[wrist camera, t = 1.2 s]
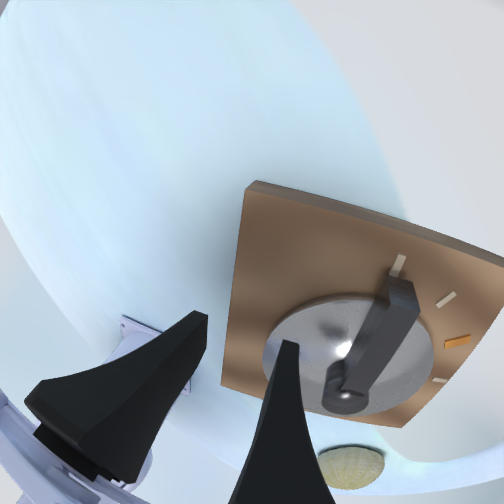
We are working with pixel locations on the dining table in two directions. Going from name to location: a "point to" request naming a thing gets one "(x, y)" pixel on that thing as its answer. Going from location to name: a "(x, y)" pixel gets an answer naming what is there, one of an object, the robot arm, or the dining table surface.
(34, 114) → the dining table surface
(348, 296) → the dial
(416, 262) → the dial base
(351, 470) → the sea urchin shell
